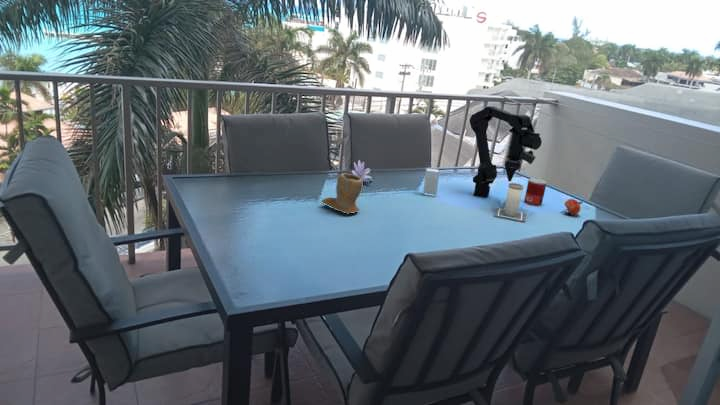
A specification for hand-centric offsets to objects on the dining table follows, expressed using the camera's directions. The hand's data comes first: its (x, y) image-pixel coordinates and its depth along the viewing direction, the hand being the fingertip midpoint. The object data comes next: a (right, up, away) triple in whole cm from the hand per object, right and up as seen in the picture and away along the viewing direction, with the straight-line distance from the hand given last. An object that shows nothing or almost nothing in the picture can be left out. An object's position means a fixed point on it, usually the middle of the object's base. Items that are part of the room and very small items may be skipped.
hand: (510, 178), depth 214 cm
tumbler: (-2, -16, -7) cm, 17 cm away
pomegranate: (+27, -16, +2) cm, 31 cm away
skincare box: (-34, -7, +11) cm, 37 cm away
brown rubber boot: (-74, -14, -18) cm, 77 cm away
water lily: (-66, -2, +19) cm, 68 cm away
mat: (-2, -16, -7) cm, 18 cm away
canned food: (+14, -11, +13) cm, 22 cm away
